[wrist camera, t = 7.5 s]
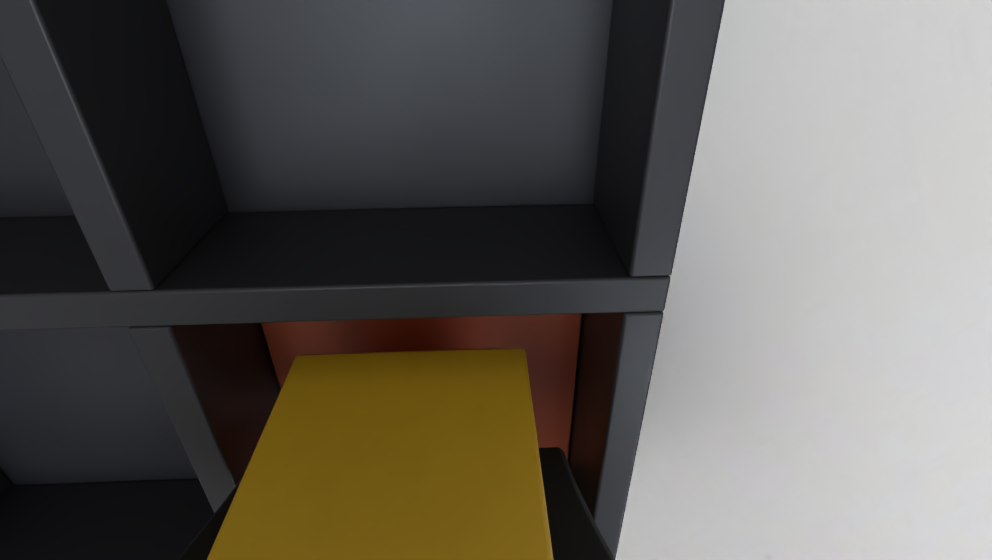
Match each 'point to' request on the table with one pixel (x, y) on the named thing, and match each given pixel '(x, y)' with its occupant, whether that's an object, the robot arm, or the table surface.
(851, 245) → the table surface
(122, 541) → the tray
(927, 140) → the table surface
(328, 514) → the block
